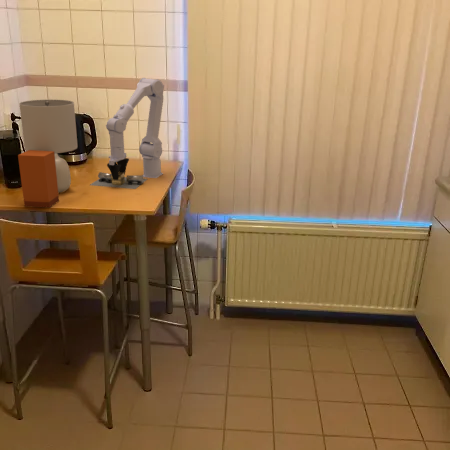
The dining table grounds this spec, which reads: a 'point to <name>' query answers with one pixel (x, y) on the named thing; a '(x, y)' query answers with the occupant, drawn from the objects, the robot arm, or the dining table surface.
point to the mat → (125, 185)
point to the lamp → (50, 132)
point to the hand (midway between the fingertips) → (119, 177)
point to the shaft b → (134, 179)
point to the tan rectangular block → (119, 179)
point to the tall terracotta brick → (38, 178)
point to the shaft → (105, 177)
